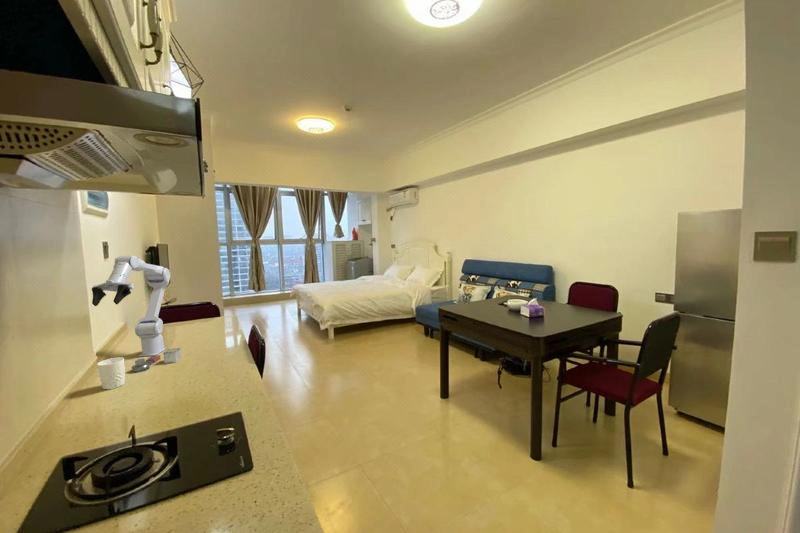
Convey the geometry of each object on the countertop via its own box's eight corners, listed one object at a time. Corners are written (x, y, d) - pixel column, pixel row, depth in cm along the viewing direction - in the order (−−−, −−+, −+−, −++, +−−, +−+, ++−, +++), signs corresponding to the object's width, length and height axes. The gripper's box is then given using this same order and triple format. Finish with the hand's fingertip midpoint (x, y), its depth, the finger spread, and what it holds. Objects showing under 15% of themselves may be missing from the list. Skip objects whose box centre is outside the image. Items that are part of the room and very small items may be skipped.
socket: (170, 359, 154) (169, 349, 153) (181, 358, 154) (180, 348, 154) (164, 363, 149) (163, 352, 148) (176, 362, 150) (174, 351, 149)
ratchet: (149, 359, 154) (148, 350, 153) (163, 358, 155) (162, 349, 154) (128, 373, 139) (127, 363, 139) (144, 372, 140) (143, 362, 139)
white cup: (132, 381, 131) (129, 357, 130) (113, 390, 123) (110, 365, 122) (114, 380, 132) (111, 357, 131) (94, 390, 124) (91, 365, 123)
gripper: (93, 273, 136) (77, 299, 127) (132, 270, 138) (119, 296, 130) (103, 283, 141) (89, 309, 133) (140, 280, 144) (129, 306, 135)
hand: (105, 303), depth 131 cm, fingers open, 7 cm apart
